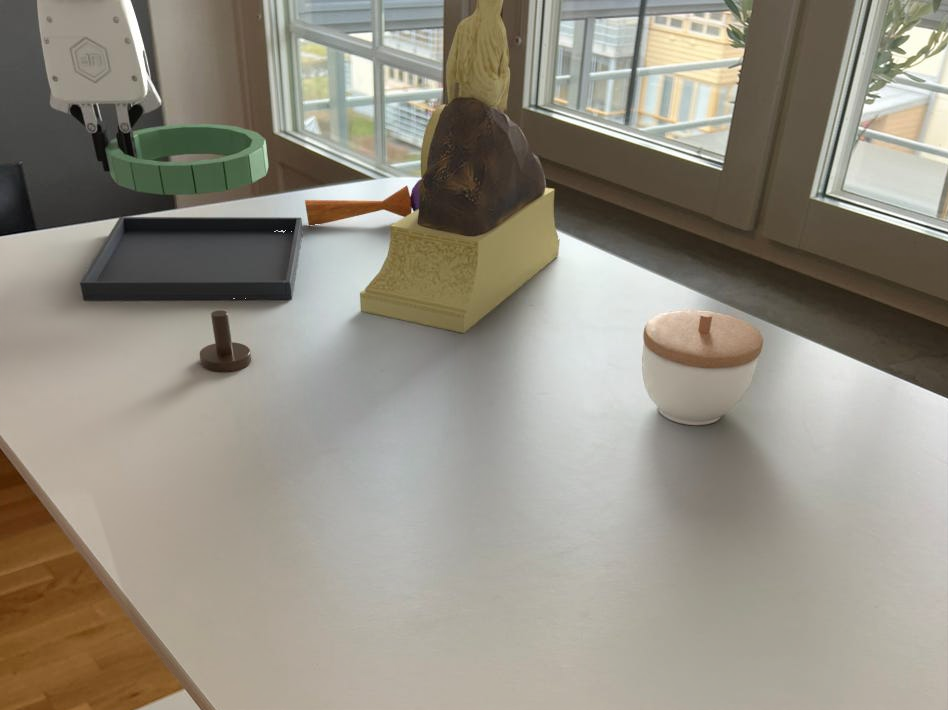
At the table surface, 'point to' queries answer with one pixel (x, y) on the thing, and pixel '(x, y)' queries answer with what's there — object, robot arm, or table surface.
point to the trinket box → (698, 364)
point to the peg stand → (224, 348)
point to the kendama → (361, 206)
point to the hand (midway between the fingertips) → (119, 167)
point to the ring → (189, 178)
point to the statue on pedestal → (469, 197)
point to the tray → (196, 259)
